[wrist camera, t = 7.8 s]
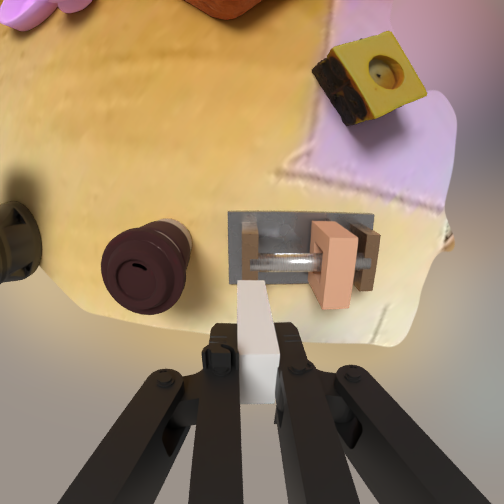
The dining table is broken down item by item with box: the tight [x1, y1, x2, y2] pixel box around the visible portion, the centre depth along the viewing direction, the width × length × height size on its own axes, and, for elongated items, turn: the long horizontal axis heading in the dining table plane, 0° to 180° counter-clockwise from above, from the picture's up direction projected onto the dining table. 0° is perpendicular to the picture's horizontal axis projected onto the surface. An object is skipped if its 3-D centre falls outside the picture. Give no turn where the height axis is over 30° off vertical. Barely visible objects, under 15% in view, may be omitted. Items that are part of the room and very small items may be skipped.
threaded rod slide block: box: [228, 211, 381, 291], centre depth 39 cm, size 22×11×8 cm, turn 90°
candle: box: [312, 31, 427, 126], centre depth 31 cm, size 10×10×10 cm
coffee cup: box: [101, 219, 192, 315], centre depth 35 cm, size 10×10×15 cm
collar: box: [308, 221, 358, 310], centre depth 37 cm, size 4×9×9 cm, turn 0°
